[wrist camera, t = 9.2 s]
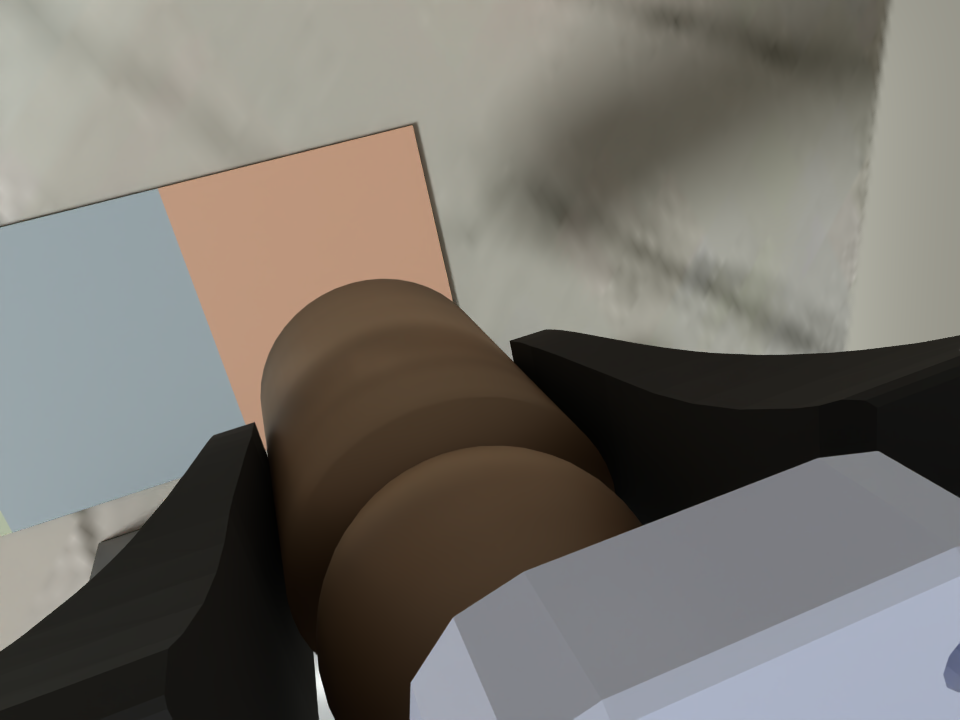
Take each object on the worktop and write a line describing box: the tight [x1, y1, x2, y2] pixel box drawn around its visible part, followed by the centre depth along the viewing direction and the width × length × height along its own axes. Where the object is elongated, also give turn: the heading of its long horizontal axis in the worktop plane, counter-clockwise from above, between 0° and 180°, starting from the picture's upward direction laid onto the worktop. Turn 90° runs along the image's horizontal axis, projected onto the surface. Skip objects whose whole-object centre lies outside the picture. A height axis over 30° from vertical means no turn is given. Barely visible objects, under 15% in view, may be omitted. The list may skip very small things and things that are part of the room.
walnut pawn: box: [260, 279, 643, 720], centre depth 10 cm, size 4×4×8 cm
